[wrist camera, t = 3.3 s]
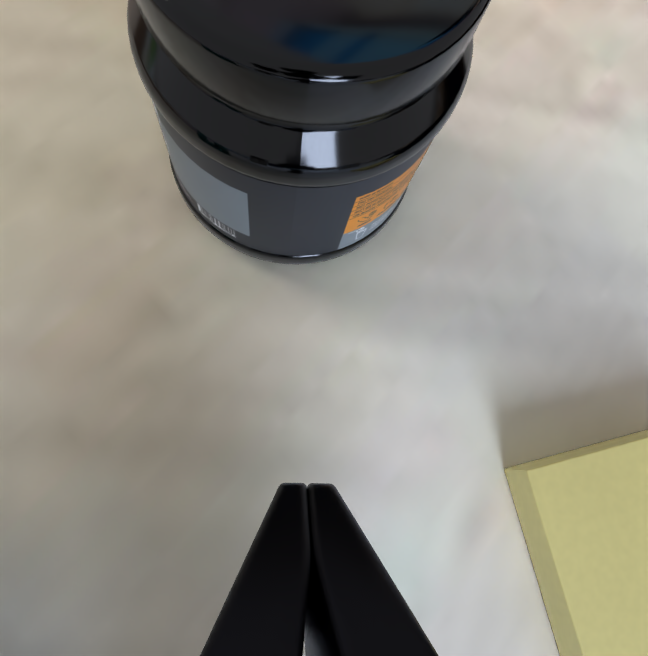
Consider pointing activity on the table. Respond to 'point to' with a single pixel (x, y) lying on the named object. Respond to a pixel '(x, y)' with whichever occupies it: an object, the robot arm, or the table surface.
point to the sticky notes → (590, 543)
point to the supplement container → (300, 110)
